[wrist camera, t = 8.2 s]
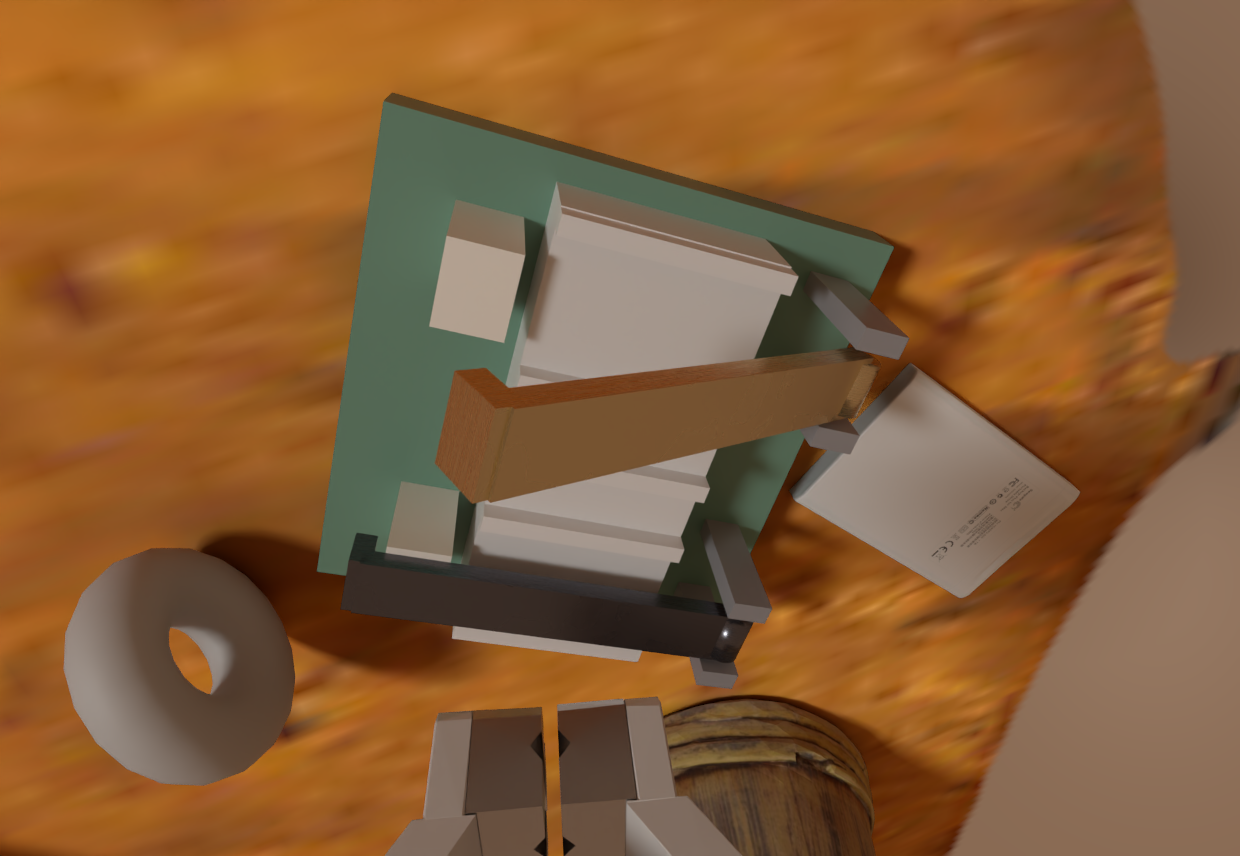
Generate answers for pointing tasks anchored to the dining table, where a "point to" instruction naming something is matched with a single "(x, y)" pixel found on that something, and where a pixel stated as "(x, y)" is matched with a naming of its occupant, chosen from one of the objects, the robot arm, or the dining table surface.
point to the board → (432, 354)
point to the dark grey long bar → (536, 605)
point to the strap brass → (635, 418)
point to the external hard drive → (935, 485)
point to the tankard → (773, 778)
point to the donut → (153, 684)
